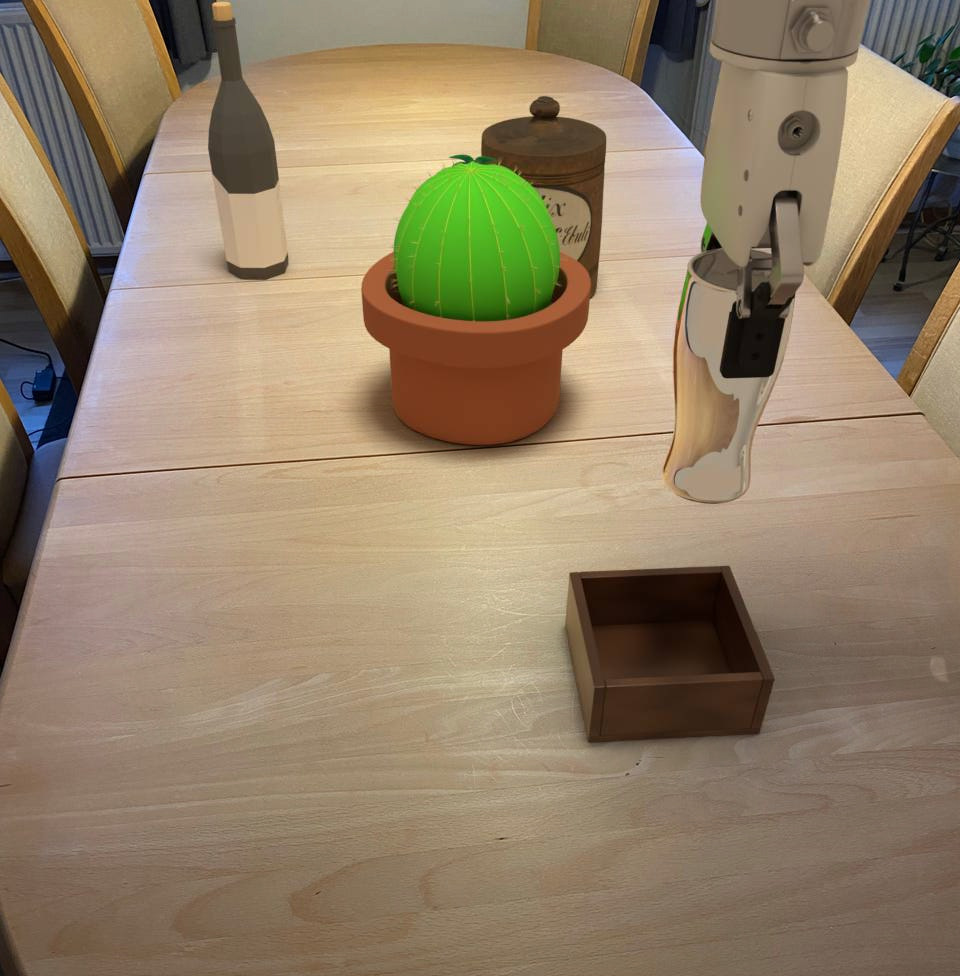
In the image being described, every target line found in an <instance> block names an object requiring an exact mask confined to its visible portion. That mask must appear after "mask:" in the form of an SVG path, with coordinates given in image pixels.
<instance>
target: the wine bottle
mask: <svg viewBox="0 0 960 976" xmlns="http://www.w3.org/2000/svg"><path fill="white" fill-rule="evenodd" d="M211 7H212V14H213V17H212V19H211V23H212V26H213V31H214V38H215V46H216V52H217V59H218V65H219V72H220V78H221V79H220V84H219V87H218V91H217V94H216V96H215V100H214V103H213V107H212V109H211V114H210V120H209V126H208V139H207V140H208V141H207V149H208V150H207V151H208V157H209V162H210V168H211V175H212V180H213V186H214V187H213V188H214V193H215V199H216V206H217V211H218V217H219V223H220V224H219V225H220V230H221V236H222V242H223V249H224V254H225V260H226V265H227V269H228V273H230V274H232V275H234V276H236V277H238V278H239V279H241V280H268V279H271V278H274V277H276V276H279V275H282V274H285V273H286V270H287V268H288V266H289V251H288V241H287V234H286V225H285V217H284V210H283V202H282V193H281V192H282V191H281V184H280V179H279V178H280V177H279V168H278V160H277V152H276V143H275V138H274V135H273V133H272V130H271V127H270V124H269V122H268V119H267V117H266V115H265V112H264V111H263V109H262V106H261V104H260V103H259V102H258V100H257V99H256V97H255V95H254V94H253V92H252V91H251V89H250V87H249V86H248V85H247V83H246V81H245V79H244V78H243V72H242V71H243V70H242V64H241V57H240V50H239V42H238V35H237V34H238V33H237V27H236V24H237V21H236V17H235V16H233V10H232V3H231V2H228V1H217V2H213V3H212V4H211Z"/></svg>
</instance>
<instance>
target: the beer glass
mask: <svg viewBox="0 0 960 976" xmlns="http://www.w3.org/2000/svg"><path fill="white" fill-rule="evenodd" d="M751 257H752V258H772V254H771V251H770V252H769V251H766V250H762V249H751ZM686 267H687V269H686V275H685V277H684V278H685V279H684V282H683V287H682V291H681V295H680V300H679V305H678V309H677V310H678V311H677V315H676V321H675V327H674V335H673V346H672V381H673V384H672V385H673V402H674V424H673V427H674V428H673V434H672V438H671V442H670V446H669V448H668V451H667V454H666V455H665V456H666V457H665V458H664V459H665V460H664V462H663V465H662V468H661V479H662V482H663V484H664V486H665V487H666V488H667V489H668V490H669V491H670V492H671V493H673V494H674V495H676V496H678V497H680V498H682V499H684V500H687V501H690V502H694V503H699V504H705V505H706V504H707V505H719V504H725V503H730V502H733V501H735V500H738V499H740V498H741V497H743V496H744V495H746V493H747V492H748V490H749V488H750V485H751V480H752V449H753V443H754V438H755V435H756V431H757V429H758V425H759V423H760V421H761V418H762V416H763V413H764V412H765V408H766V406H767V404H768V402H769V400H770V397H771V394H772V392H773V390H774V388H775V385H776V382H777V380H778V377H779V374H780V371H781V369H782V366H783V363H784V359H785V355H786V351H787V349H788V343H789V339H790V333H791V330H792V329H791V328H792V323H793V318H794V317H793V316H794V309H795V308H794V307H795V302H796V297H795V298H794V299H793V300H792V302H791V304H790V311H789V315H788V317H787V318H786V319H785V323H784V328H783V333H782V337H781V342H780V347H779V351H778V356H777V361H776V365H775V370H774V373H773V374H772V375H771V376H770V377H761V378H729V379H727V378H723V377H722V375H721V373H720V364H721V358H722V352H723V346H724V341H725V335H726V329H727V323H728V318H729V312H732V311H736V304H737V275H738V265H737V264H735V263H734V262H733V261H732V260H731V259H730V258H729V257H728V255H727V254H726V252H725V251H724V249H723V248H716V249H711V250H707V251H704V252H701V251H700V252H699V253H697V254H695V255H693V256H692V257H691V258H690V259H689V260H688V262H687V266H686ZM770 273H771V271H753V282H752V293H753V292H754V290H755V289H756V288H757V287H758V285H759V284H760V283H761V282H768V280H769V278H768V277H769V275H770Z"/></svg>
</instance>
